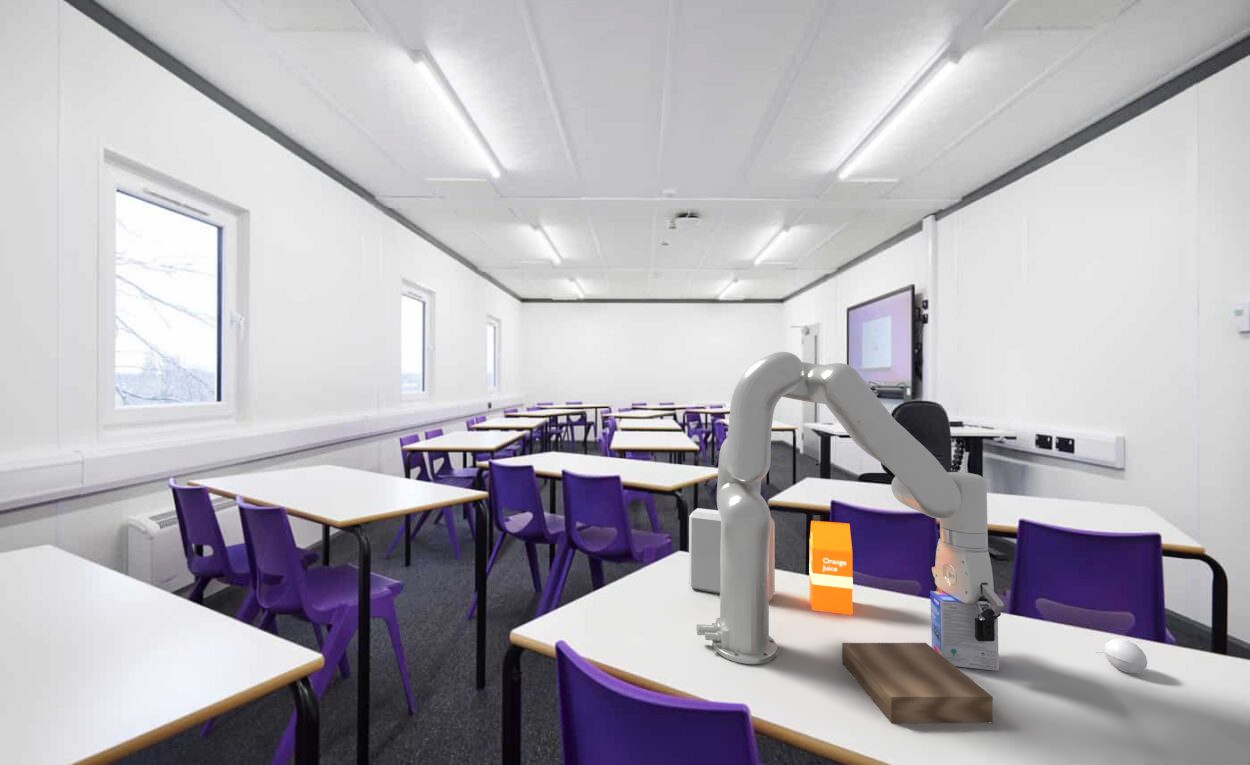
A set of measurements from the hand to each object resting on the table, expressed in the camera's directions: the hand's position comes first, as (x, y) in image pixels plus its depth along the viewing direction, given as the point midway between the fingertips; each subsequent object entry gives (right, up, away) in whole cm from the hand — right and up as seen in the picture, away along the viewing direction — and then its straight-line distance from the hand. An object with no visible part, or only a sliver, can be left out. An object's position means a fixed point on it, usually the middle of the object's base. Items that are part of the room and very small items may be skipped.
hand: (965, 627), depth 92 cm
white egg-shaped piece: (+27, -7, -3) cm, 28 cm away
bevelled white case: (-38, -7, +31) cm, 50 cm away
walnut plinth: (-16, -6, -9) cm, 20 cm away
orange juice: (-16, -7, +24) cm, 29 cm away
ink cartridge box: (0, -7, 0) cm, 7 cm away
